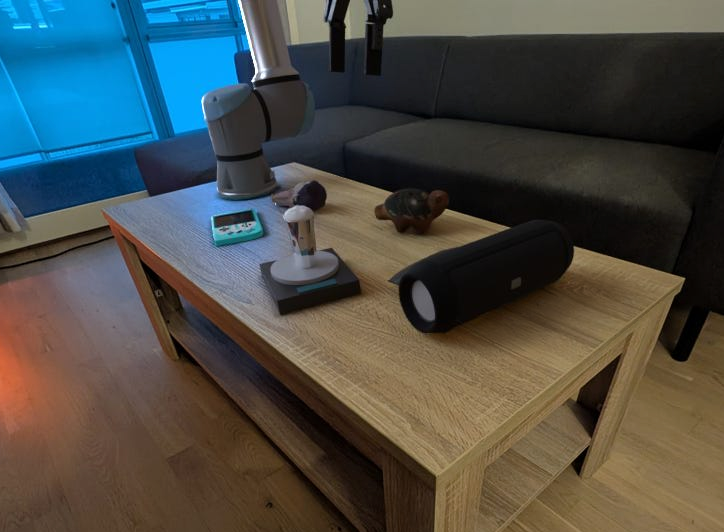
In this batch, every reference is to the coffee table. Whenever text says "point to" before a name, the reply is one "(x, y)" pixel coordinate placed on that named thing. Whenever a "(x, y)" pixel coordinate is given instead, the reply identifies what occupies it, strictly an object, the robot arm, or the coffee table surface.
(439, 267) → the portable speaker
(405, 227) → the decorative turtle
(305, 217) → the milkshake
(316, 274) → the scale
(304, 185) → the figurine
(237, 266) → the coffee table surface
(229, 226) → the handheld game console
